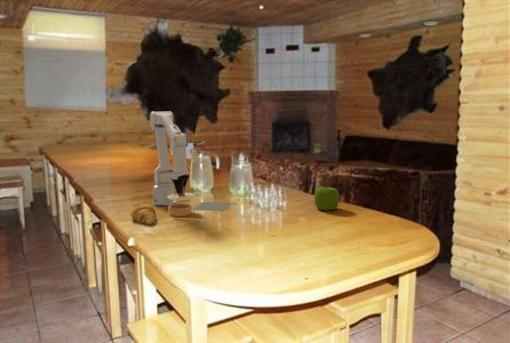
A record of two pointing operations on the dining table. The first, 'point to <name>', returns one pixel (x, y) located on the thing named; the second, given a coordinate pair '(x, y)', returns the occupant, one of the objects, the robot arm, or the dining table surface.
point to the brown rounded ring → (179, 209)
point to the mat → (212, 206)
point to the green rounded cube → (326, 198)
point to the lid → (181, 196)
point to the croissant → (144, 214)
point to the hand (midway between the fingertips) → (180, 192)
